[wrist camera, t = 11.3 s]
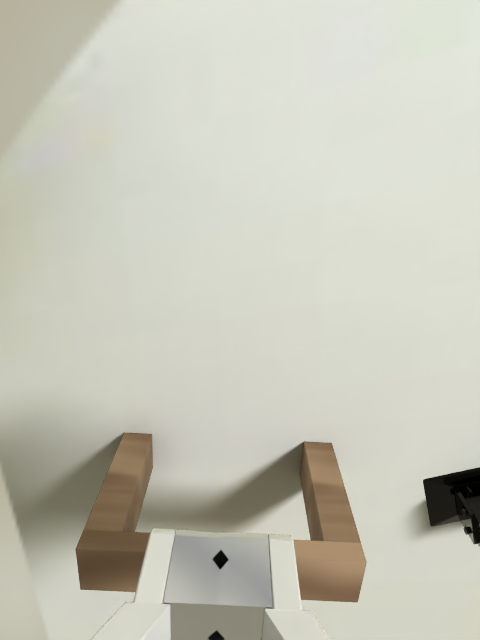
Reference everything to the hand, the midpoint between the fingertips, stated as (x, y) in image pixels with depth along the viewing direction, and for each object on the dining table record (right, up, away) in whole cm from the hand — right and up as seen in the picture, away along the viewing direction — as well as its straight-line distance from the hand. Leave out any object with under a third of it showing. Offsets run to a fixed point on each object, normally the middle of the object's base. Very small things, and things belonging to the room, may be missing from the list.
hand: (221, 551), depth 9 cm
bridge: (-1, -5, +23) cm, 23 cm away
